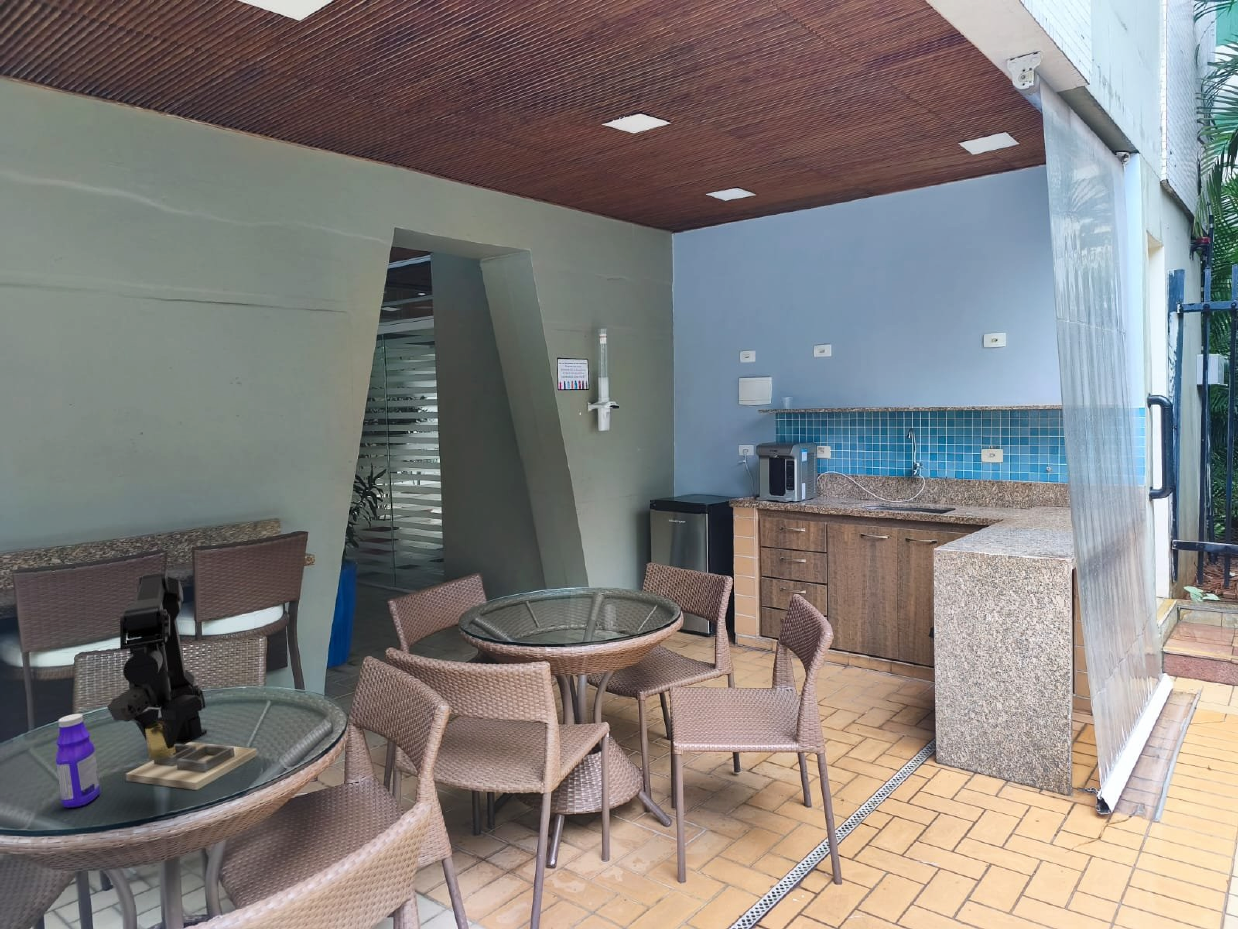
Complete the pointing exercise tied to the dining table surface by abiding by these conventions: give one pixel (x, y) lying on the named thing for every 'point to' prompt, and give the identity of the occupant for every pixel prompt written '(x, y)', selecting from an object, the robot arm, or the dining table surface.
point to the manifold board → (192, 765)
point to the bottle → (76, 763)
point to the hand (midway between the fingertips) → (161, 747)
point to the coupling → (157, 742)
